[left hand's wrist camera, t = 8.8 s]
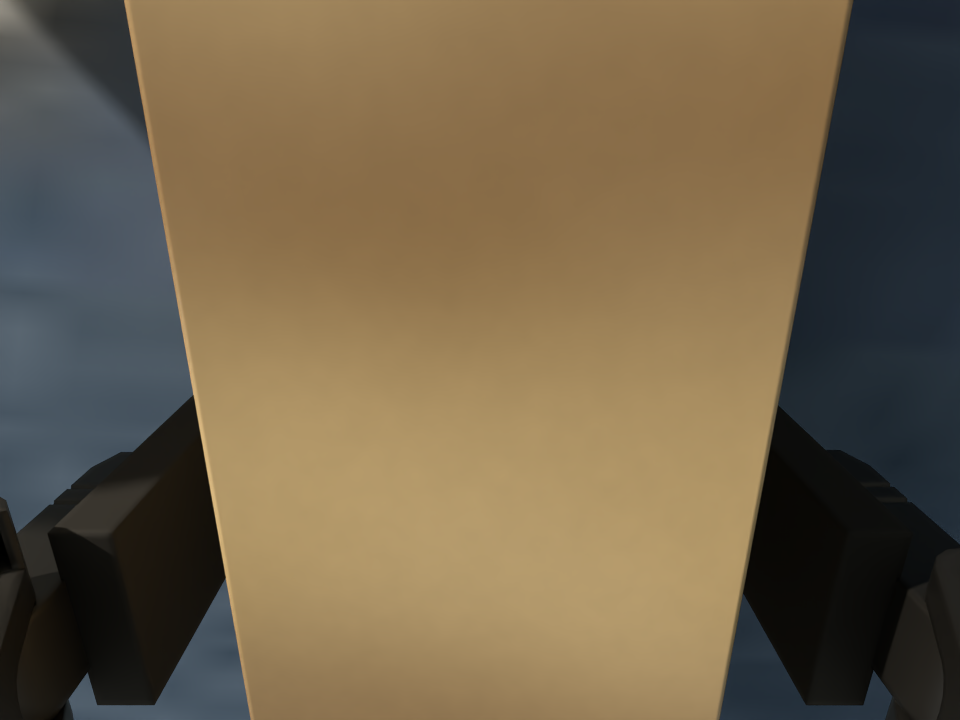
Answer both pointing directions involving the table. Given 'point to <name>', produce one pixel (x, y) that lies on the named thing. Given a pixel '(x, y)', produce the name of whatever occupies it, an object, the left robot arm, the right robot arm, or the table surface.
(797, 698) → the table surface
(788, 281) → the oak beam
